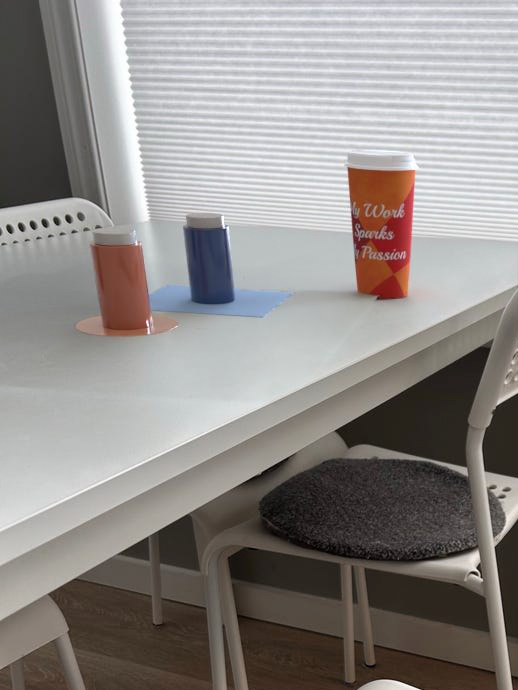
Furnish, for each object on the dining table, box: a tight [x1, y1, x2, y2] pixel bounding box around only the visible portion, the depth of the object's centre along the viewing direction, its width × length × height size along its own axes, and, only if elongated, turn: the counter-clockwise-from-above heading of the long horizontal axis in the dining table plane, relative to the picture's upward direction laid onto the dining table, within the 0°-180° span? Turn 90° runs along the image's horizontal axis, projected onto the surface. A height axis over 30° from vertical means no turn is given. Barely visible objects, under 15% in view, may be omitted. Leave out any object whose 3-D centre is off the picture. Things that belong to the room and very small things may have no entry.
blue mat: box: [149, 284, 295, 318], centre depth 97 cm, size 14×12×1 cm
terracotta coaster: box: [75, 313, 180, 338], centre depth 87 cm, size 9×9×1 cm
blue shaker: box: [182, 212, 235, 304], centre depth 95 cm, size 4×4×8 cm
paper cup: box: [343, 149, 420, 300], centre depth 102 cm, size 8×8×14 cm
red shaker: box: [88, 227, 153, 330], centre depth 85 cm, size 4×4×8 cm
